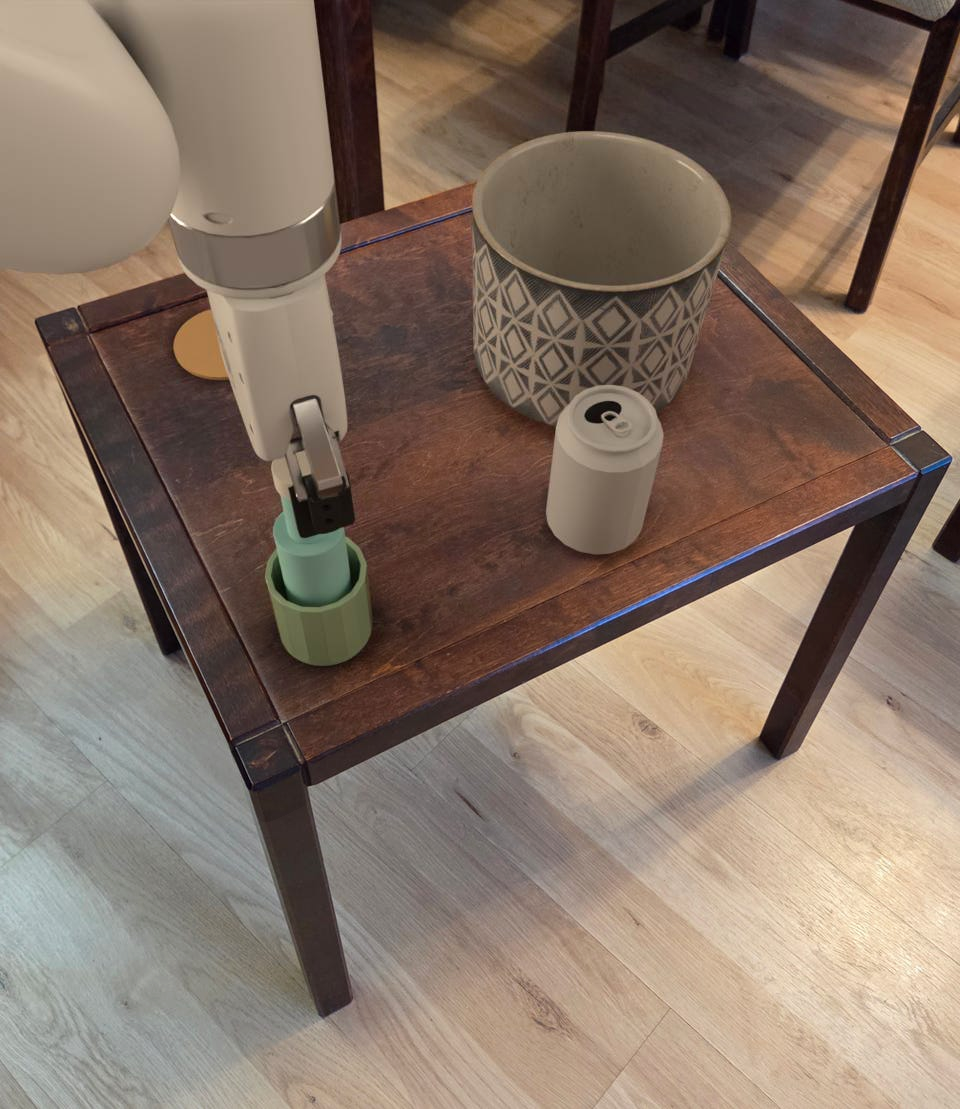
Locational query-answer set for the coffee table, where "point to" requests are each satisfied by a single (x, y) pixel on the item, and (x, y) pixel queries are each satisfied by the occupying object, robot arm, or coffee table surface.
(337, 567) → the bottle
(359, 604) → the holder
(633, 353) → the planter
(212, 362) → the coaster
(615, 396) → the can
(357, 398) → the coffee table surface
